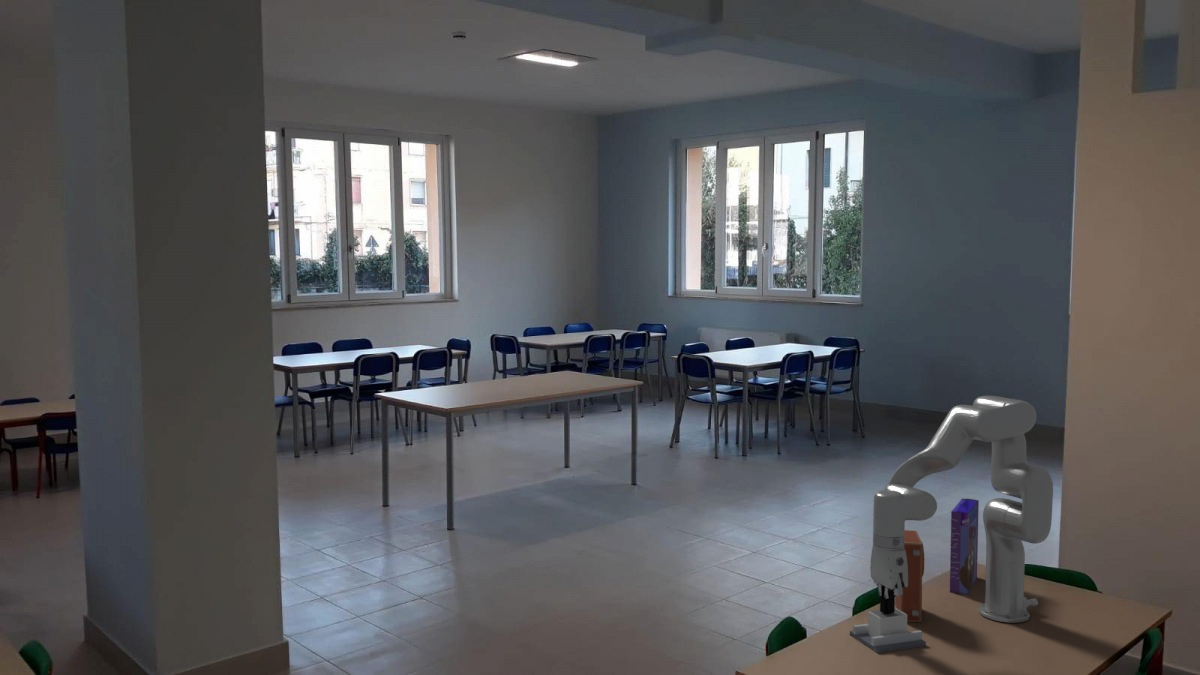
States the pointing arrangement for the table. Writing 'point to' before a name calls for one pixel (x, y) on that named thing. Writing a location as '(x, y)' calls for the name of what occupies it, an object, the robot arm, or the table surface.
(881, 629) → the block
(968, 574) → the cereal box
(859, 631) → the grey rail base plate
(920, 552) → the orange upright battery pack
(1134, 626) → the table surface
